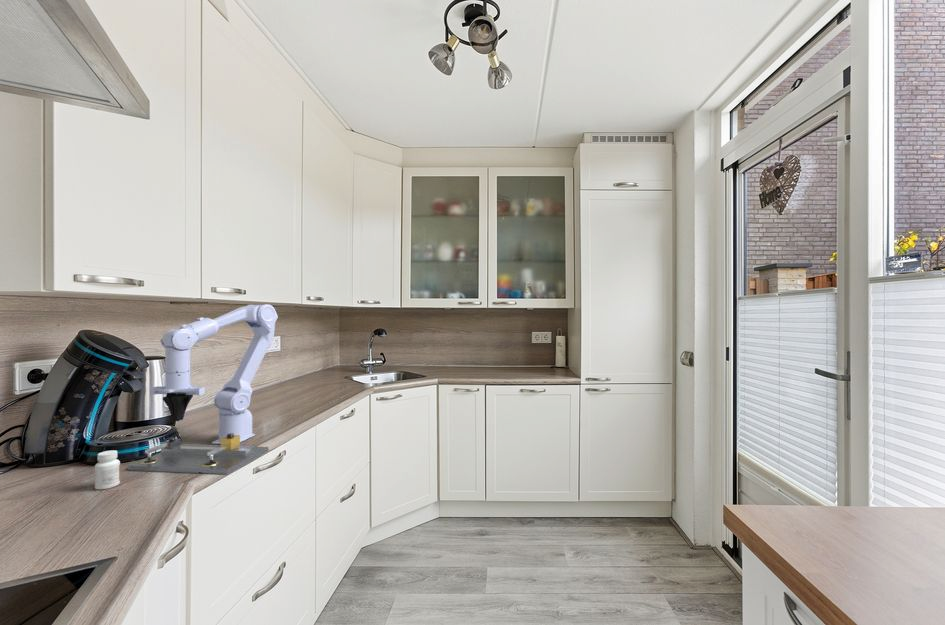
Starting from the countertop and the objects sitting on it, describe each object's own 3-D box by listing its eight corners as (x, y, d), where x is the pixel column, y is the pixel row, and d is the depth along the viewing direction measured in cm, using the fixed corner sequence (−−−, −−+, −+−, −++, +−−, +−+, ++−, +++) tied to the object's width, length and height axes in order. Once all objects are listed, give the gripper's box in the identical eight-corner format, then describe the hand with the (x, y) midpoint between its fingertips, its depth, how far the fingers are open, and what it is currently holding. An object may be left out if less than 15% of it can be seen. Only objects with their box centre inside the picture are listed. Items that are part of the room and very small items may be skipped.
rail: (166, 451, 115) (166, 445, 115) (250, 454, 112) (250, 448, 112) (160, 453, 113) (160, 447, 113) (245, 456, 111) (245, 450, 111)
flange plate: (182, 448, 121) (182, 443, 121) (268, 451, 118) (268, 446, 118) (128, 470, 104) (128, 464, 104) (227, 474, 101) (227, 468, 101)
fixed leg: (172, 448, 116) (172, 436, 116) (180, 448, 115) (180, 436, 115) (142, 460, 106) (142, 447, 106) (151, 460, 106) (151, 447, 106)
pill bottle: (125, 482, 97) (125, 449, 97) (106, 490, 92) (106, 456, 92) (108, 481, 97) (108, 449, 97) (89, 489, 93) (89, 455, 93)
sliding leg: (229, 450, 114) (229, 432, 114) (239, 450, 114) (239, 432, 114) (203, 463, 104) (203, 443, 104) (214, 463, 104) (214, 443, 104)
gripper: (141, 373, 111) (141, 423, 111) (190, 374, 110) (190, 424, 110) (163, 369, 118) (163, 416, 119) (210, 370, 117) (210, 418, 117)
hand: (178, 420), depth 115 cm, fingers closed
